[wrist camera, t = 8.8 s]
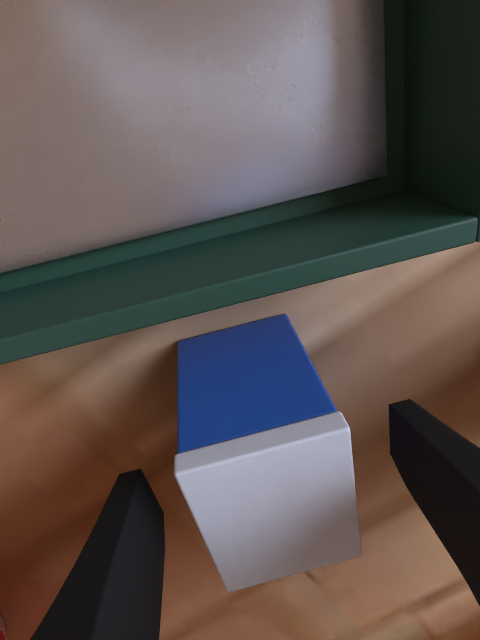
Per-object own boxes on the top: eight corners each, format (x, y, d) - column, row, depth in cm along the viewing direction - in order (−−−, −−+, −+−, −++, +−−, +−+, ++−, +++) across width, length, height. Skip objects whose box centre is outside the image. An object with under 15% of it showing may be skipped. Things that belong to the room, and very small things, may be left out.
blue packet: (287, 310, 13) (351, 428, 8) (305, 419, 16) (362, 556, 11) (174, 339, 13) (172, 475, 8) (212, 443, 15) (227, 594, 11)
